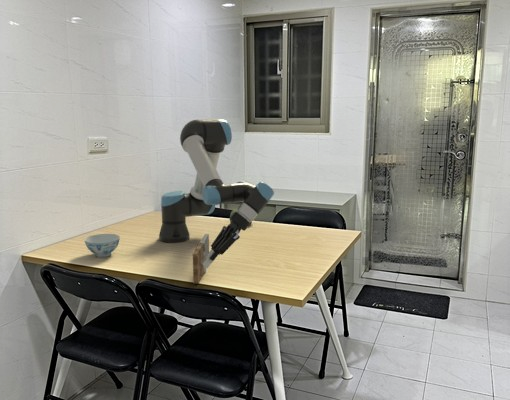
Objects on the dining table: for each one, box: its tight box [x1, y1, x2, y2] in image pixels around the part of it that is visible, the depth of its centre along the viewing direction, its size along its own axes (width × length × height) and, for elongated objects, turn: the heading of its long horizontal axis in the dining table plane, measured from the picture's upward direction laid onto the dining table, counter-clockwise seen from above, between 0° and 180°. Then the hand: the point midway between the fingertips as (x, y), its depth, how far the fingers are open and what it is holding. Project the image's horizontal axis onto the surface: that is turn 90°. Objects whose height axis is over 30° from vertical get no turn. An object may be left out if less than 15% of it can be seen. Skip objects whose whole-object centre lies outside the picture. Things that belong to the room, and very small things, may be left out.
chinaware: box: [84, 233, 121, 258], centre depth 209 cm, size 15×15×8 cm
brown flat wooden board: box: [192, 241, 206, 285], centre depth 180 cm, size 15×3×12 cm, turn 176°
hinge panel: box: [200, 233, 210, 274], centre depth 192 cm, size 15×3×12 cm, turn 177°
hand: (204, 265), depth 177 cm, fingers closed
